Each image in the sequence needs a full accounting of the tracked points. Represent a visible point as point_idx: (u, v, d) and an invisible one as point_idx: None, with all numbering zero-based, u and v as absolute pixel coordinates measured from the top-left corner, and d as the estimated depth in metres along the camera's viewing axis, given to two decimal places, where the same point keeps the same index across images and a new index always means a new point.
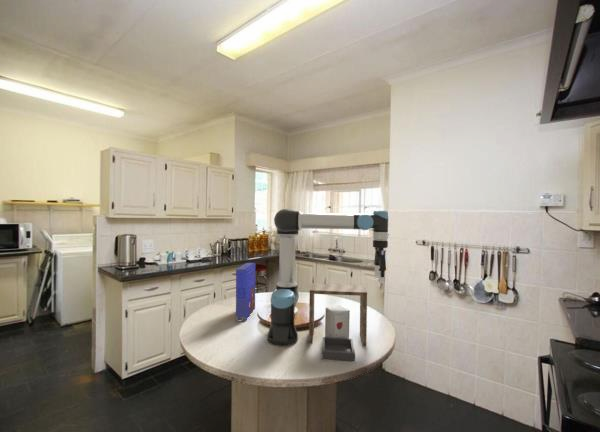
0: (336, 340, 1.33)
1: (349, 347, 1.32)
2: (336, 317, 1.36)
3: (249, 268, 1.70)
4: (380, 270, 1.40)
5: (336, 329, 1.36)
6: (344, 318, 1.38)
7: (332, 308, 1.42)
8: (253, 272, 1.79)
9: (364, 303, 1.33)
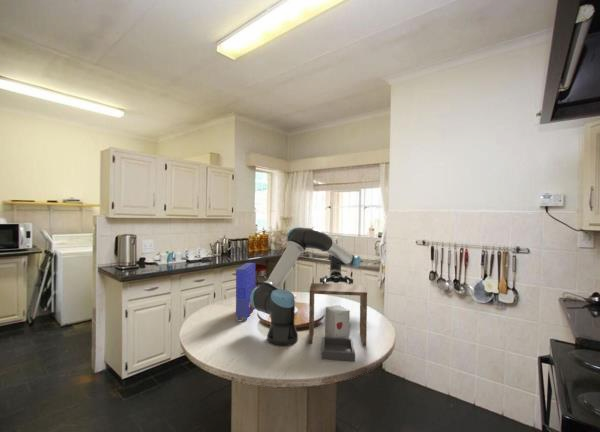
0: (336, 340, 1.33)
1: (349, 347, 1.32)
2: (336, 317, 1.36)
3: (249, 268, 1.70)
4: (349, 280, 1.71)
5: (336, 329, 1.36)
6: (344, 317, 1.38)
7: (332, 308, 1.42)
8: (253, 272, 1.79)
9: (364, 303, 1.33)
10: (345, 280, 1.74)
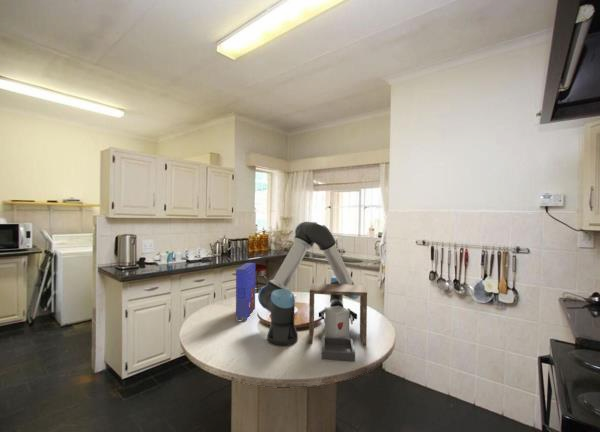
0: (336, 340, 1.33)
1: (349, 347, 1.32)
2: (337, 317, 1.36)
3: (249, 268, 1.70)
4: (353, 315, 1.48)
5: (337, 329, 1.36)
6: (345, 318, 1.38)
7: (332, 308, 1.42)
8: (253, 272, 1.79)
9: (364, 303, 1.33)
10: None
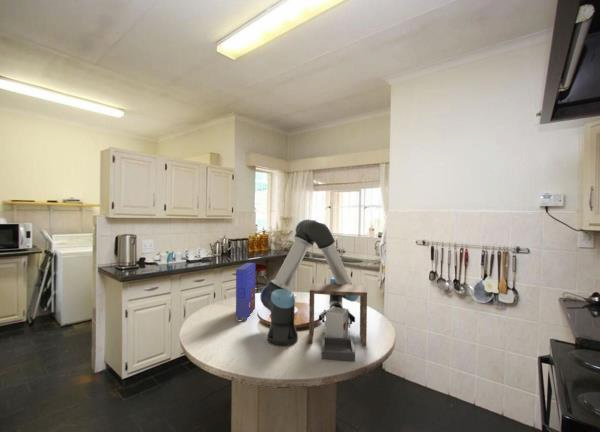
0: (336, 340, 1.33)
1: (349, 347, 1.32)
2: (343, 318, 1.35)
3: (249, 268, 1.70)
4: (351, 318, 1.44)
5: (343, 330, 1.35)
6: (346, 317, 1.39)
7: (332, 310, 1.39)
8: (253, 272, 1.79)
9: (364, 303, 1.33)
10: None
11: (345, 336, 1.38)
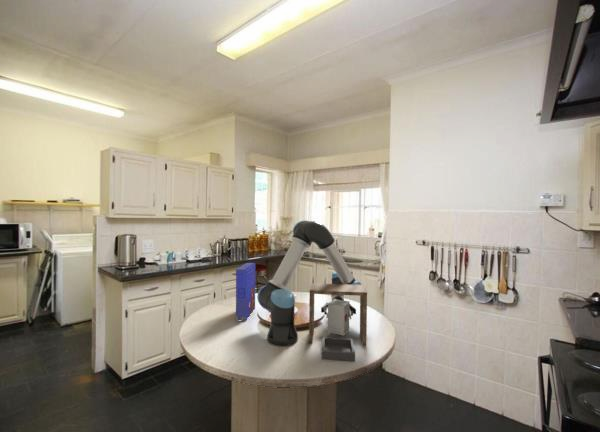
0: (336, 340, 1.33)
1: (349, 347, 1.32)
2: (344, 309, 1.40)
3: (249, 268, 1.70)
4: (352, 310, 1.49)
5: (344, 321, 1.41)
6: (347, 309, 1.45)
7: (334, 302, 1.45)
8: (253, 272, 1.79)
9: (364, 303, 1.33)
10: None
11: (346, 327, 1.44)
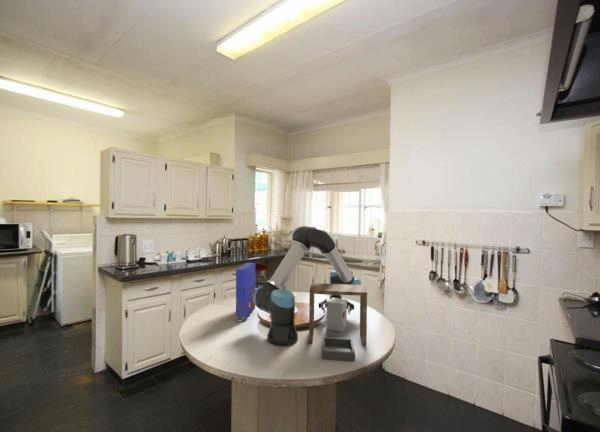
0: (336, 340, 1.33)
1: (349, 347, 1.32)
2: (342, 307, 1.50)
3: (249, 268, 1.70)
4: (350, 305, 1.60)
5: (342, 318, 1.50)
6: (345, 307, 1.54)
7: (332, 300, 1.54)
8: (253, 272, 1.79)
9: (364, 303, 1.33)
10: None
11: (344, 324, 1.53)
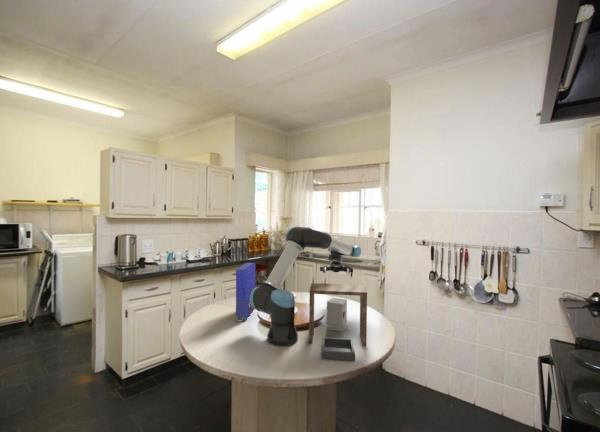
0: (336, 340, 1.33)
1: (349, 347, 1.32)
2: (342, 307, 1.50)
3: (249, 268, 1.70)
4: (349, 268, 1.73)
5: (342, 318, 1.50)
6: (345, 307, 1.54)
7: (332, 300, 1.54)
8: (253, 272, 1.79)
9: (364, 303, 1.33)
10: (345, 269, 1.75)
11: (344, 324, 1.53)
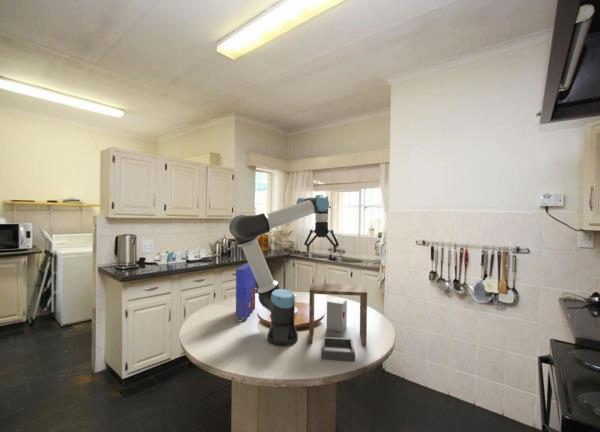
0: (336, 340, 1.33)
1: (349, 347, 1.32)
2: (342, 307, 1.50)
3: (249, 268, 1.70)
4: None
5: (342, 318, 1.50)
6: (345, 307, 1.54)
7: (332, 300, 1.54)
8: None
9: (364, 303, 1.33)
10: (331, 242, 1.65)
11: (344, 324, 1.53)
